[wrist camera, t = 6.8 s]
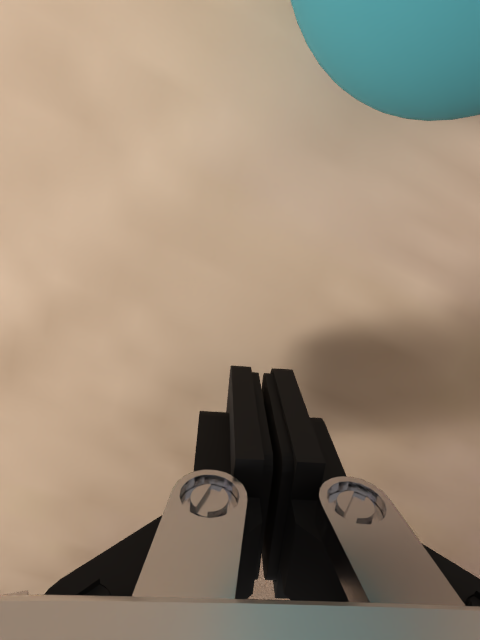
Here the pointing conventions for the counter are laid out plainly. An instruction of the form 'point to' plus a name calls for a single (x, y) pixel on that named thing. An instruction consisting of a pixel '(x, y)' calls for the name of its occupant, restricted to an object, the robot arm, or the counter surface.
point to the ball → (399, 53)
